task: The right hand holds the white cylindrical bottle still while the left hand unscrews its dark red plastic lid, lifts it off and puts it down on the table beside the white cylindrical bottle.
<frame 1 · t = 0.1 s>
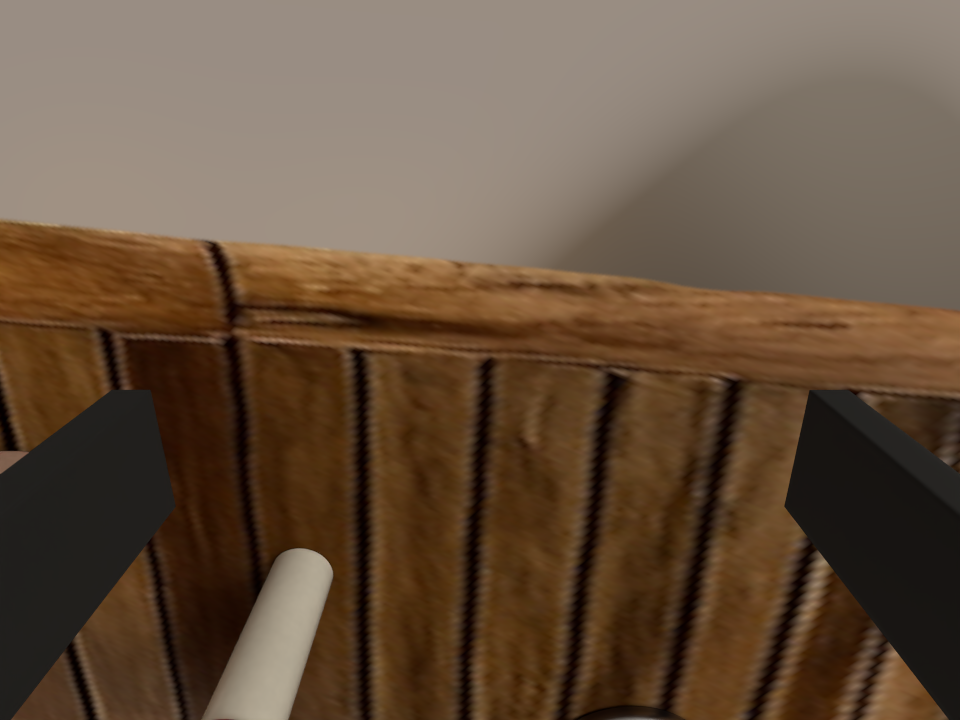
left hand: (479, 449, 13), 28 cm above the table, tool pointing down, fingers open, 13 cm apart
white cylindrical bottle: (302, 572, 49), on the table
anatomical model: (8, 518, 47), on the table
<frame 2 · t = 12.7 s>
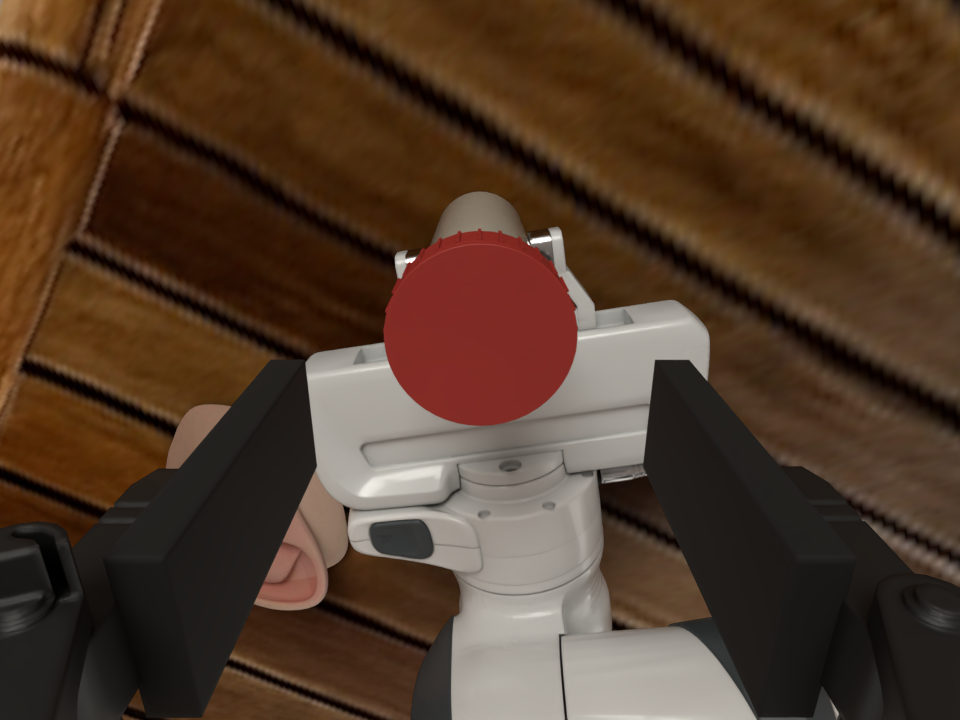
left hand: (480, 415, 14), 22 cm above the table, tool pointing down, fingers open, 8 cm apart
white cylindrical bottle: (480, 235, 34), on the table, touching right hand
anatomical model: (258, 493, 41), on the table
lid: (480, 336, 19), point 17 cm above the table, screwed on, not yet turned
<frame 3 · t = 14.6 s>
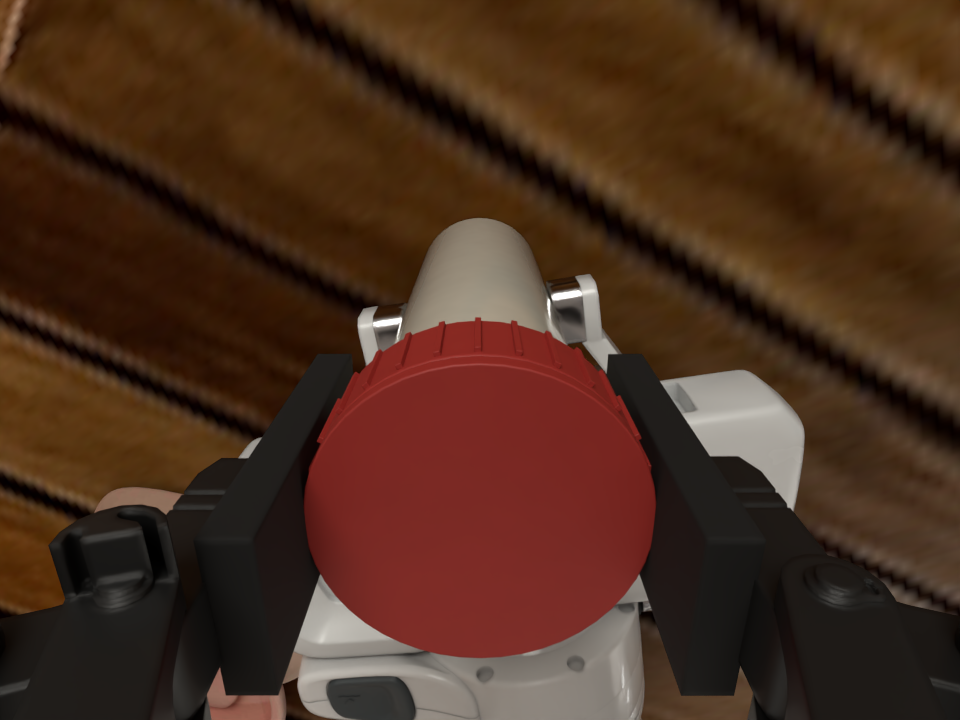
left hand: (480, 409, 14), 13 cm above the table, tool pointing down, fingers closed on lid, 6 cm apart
white cylindrical bottle: (479, 275, 26), on the table, touching right hand
anatomical model: (200, 592, 32), on the table
lid: (479, 514, 11), point 17 cm above the table, screwed on, not yet turned, touching left hand
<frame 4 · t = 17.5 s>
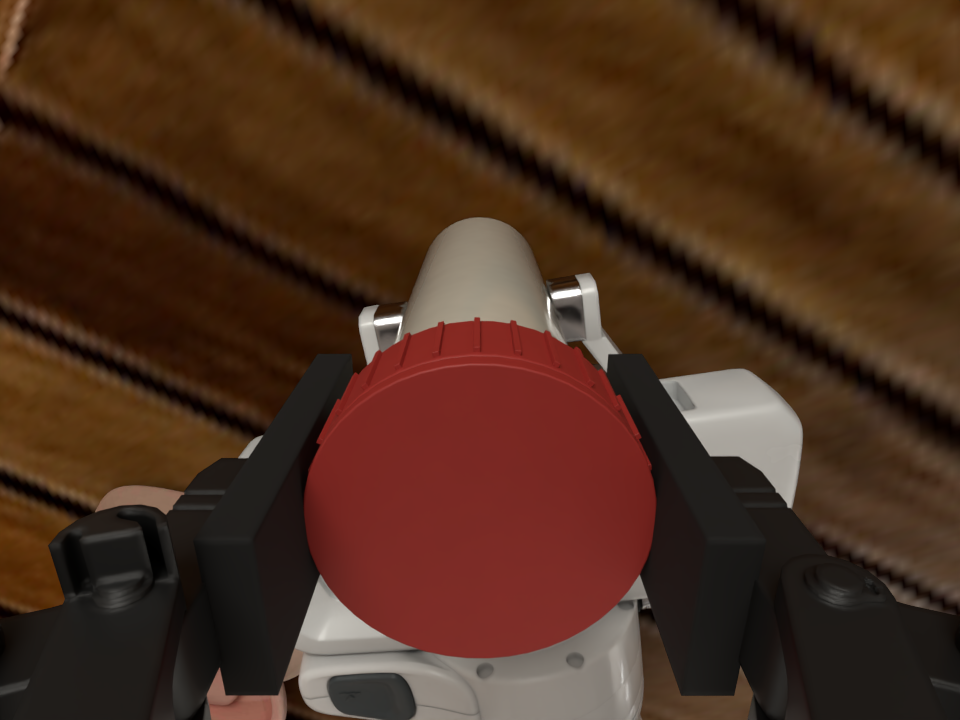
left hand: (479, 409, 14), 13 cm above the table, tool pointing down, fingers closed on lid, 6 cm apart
white cylindrical bottle: (479, 274, 26), on the table, touching right hand
anatomical model: (201, 590, 32), on the table
lid: (480, 514, 11), point 17 cm above the table, turned 62° so far, risen 0.1 cm, still on its thread, touching left hand
when the left hand's fingers open (0 cm above the table, at t = 25.3 s): lid drops 2 cm, point 2 cm above the table.
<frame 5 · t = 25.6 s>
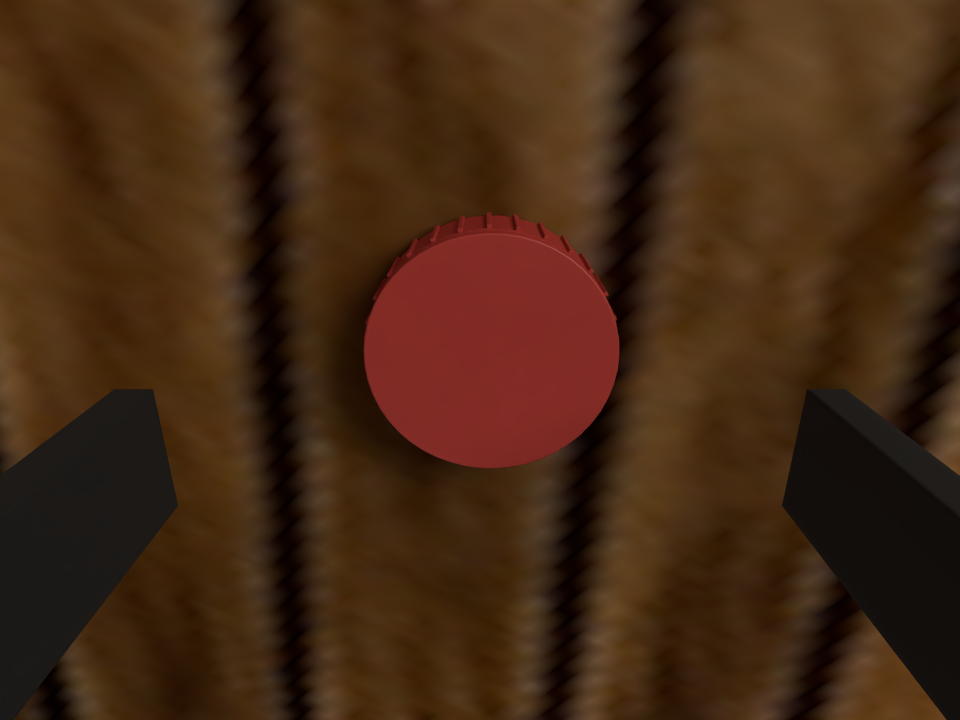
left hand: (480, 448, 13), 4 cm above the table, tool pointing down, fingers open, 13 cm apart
lid: (491, 354, 14), point 2 cm above the table, off its thread
when the right hand's fingers open (6 cm above the table, at t = 26.0 s): white cylindrical bottle stays where it is, on the table.
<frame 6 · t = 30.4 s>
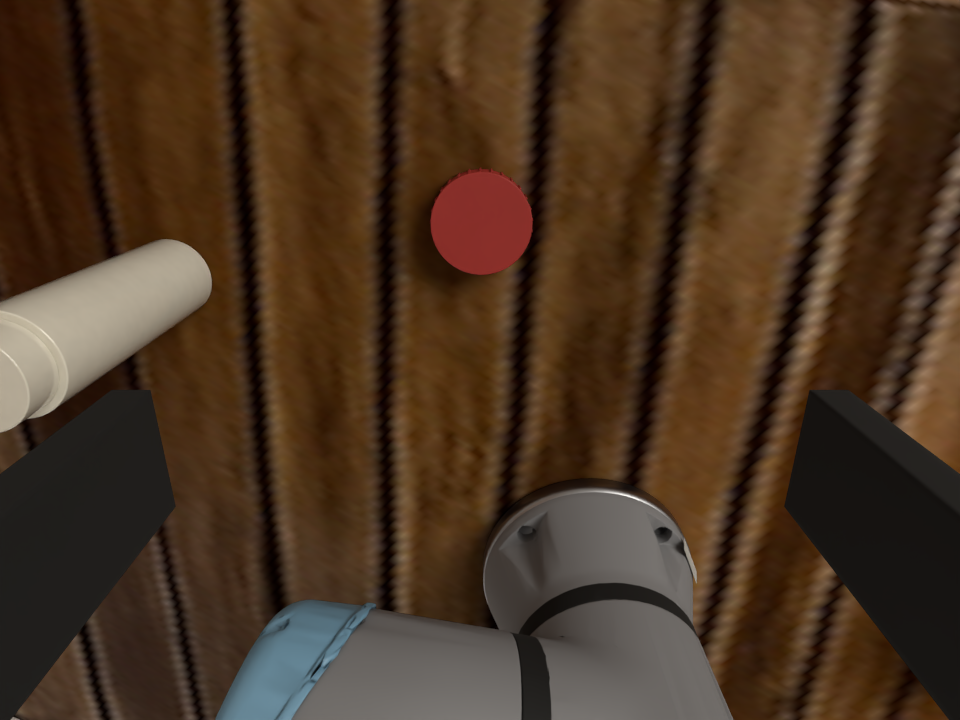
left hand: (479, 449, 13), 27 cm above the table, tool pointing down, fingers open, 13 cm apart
white cylindrical bottle: (173, 277, 39), on the table
lid: (481, 224, 36), point 2 cm above the table, off its thread
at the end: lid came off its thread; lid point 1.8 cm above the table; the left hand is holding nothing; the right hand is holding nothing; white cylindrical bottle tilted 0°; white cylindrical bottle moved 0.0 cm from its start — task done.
